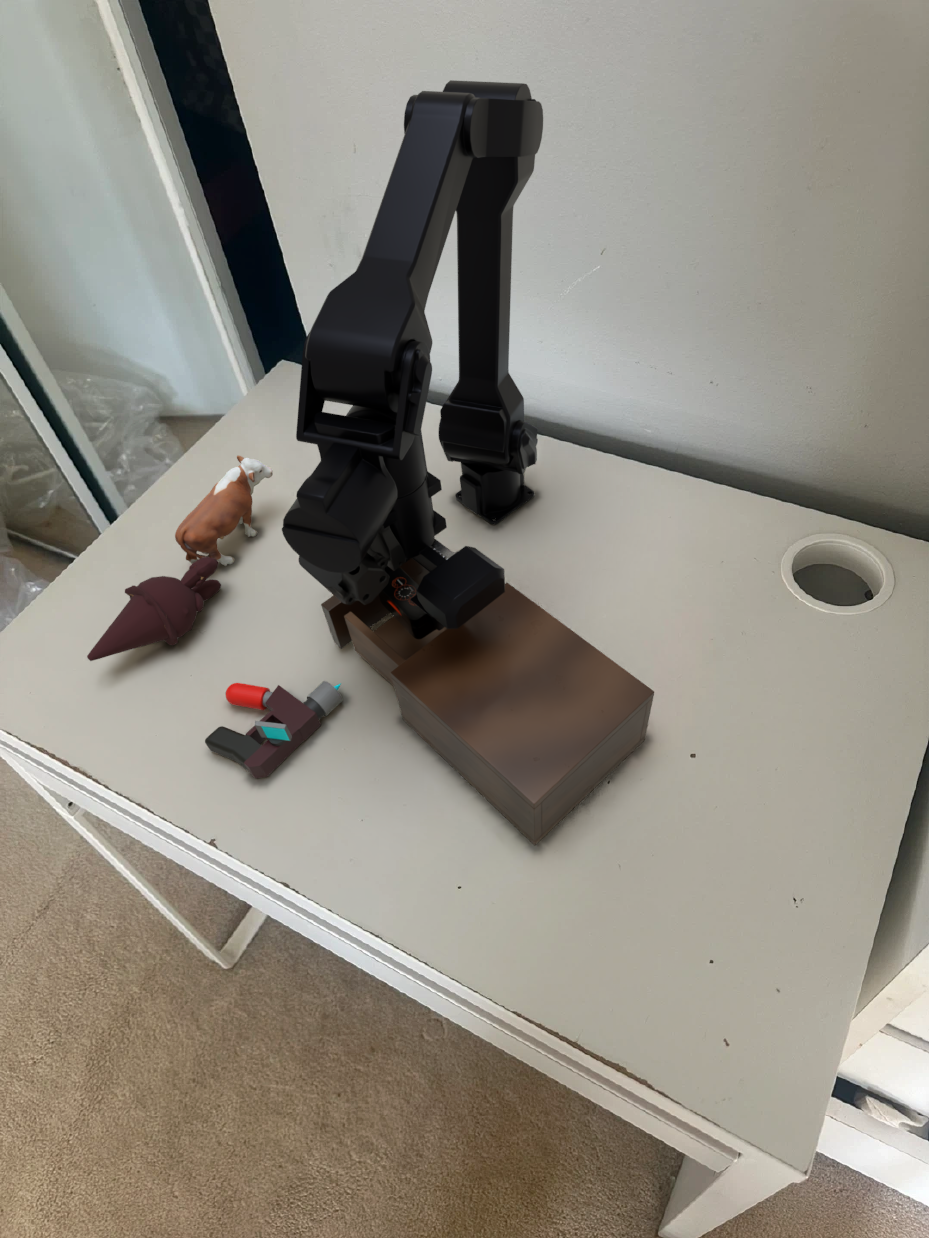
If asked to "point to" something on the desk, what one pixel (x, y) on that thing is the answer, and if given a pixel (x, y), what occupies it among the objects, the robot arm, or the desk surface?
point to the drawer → (387, 640)
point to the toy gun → (272, 725)
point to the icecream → (159, 610)
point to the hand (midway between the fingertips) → (415, 605)
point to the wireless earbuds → (405, 604)
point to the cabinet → (523, 710)
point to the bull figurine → (222, 512)
